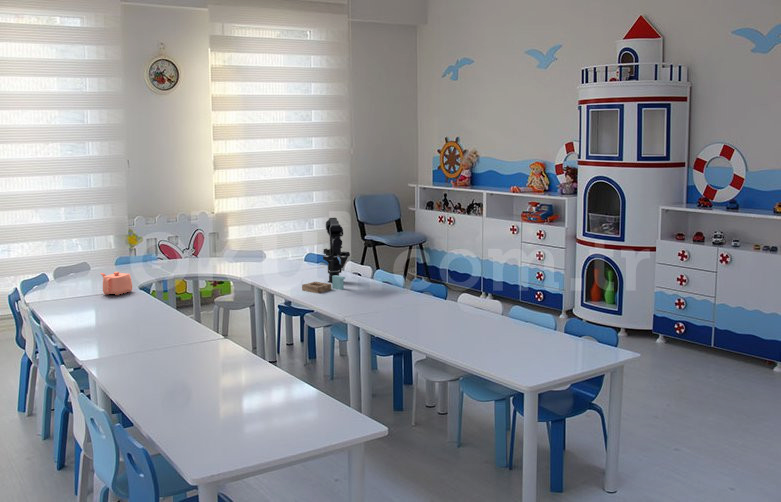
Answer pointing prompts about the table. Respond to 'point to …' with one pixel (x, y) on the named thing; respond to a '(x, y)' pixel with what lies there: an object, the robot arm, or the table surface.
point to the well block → (316, 287)
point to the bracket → (338, 282)
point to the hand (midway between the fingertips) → (336, 269)
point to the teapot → (116, 283)
